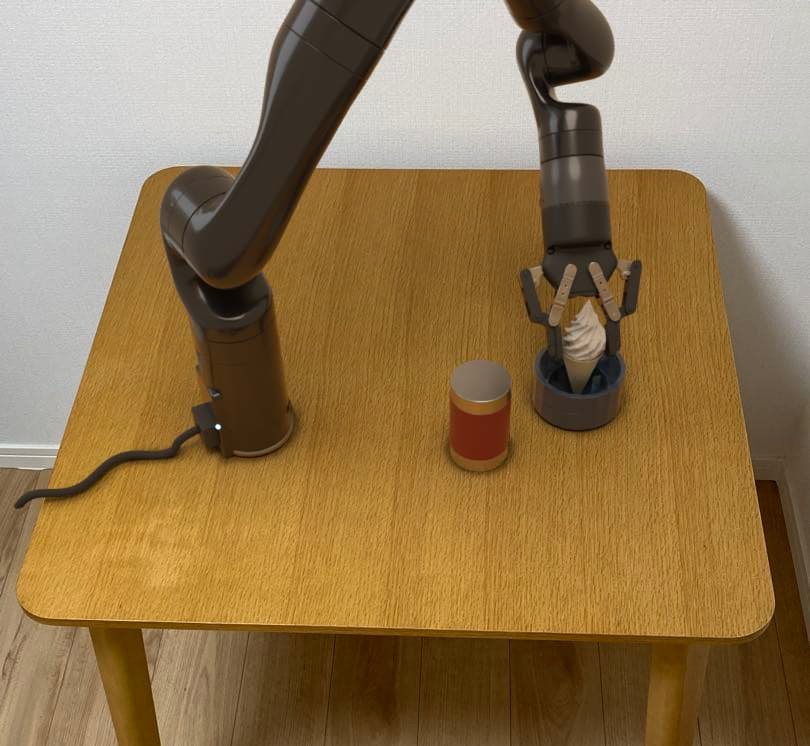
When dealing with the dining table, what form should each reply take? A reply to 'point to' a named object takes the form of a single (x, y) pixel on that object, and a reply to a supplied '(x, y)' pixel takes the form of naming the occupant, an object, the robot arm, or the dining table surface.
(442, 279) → the dining table surface
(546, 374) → the bowl
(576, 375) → the ice cream cone
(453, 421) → the tin can
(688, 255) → the dining table surface
